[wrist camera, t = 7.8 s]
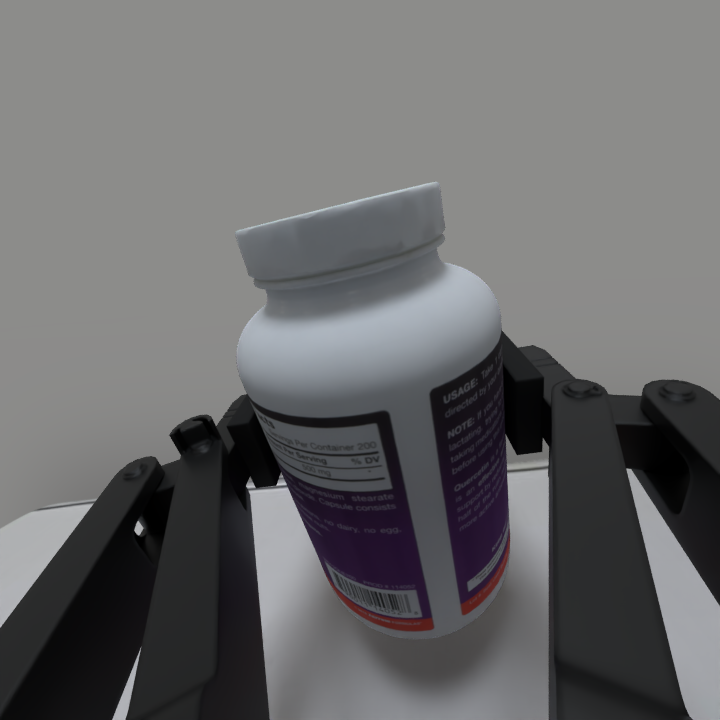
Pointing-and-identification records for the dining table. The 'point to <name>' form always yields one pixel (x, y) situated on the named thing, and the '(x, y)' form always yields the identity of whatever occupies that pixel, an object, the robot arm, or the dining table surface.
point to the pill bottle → (384, 407)
